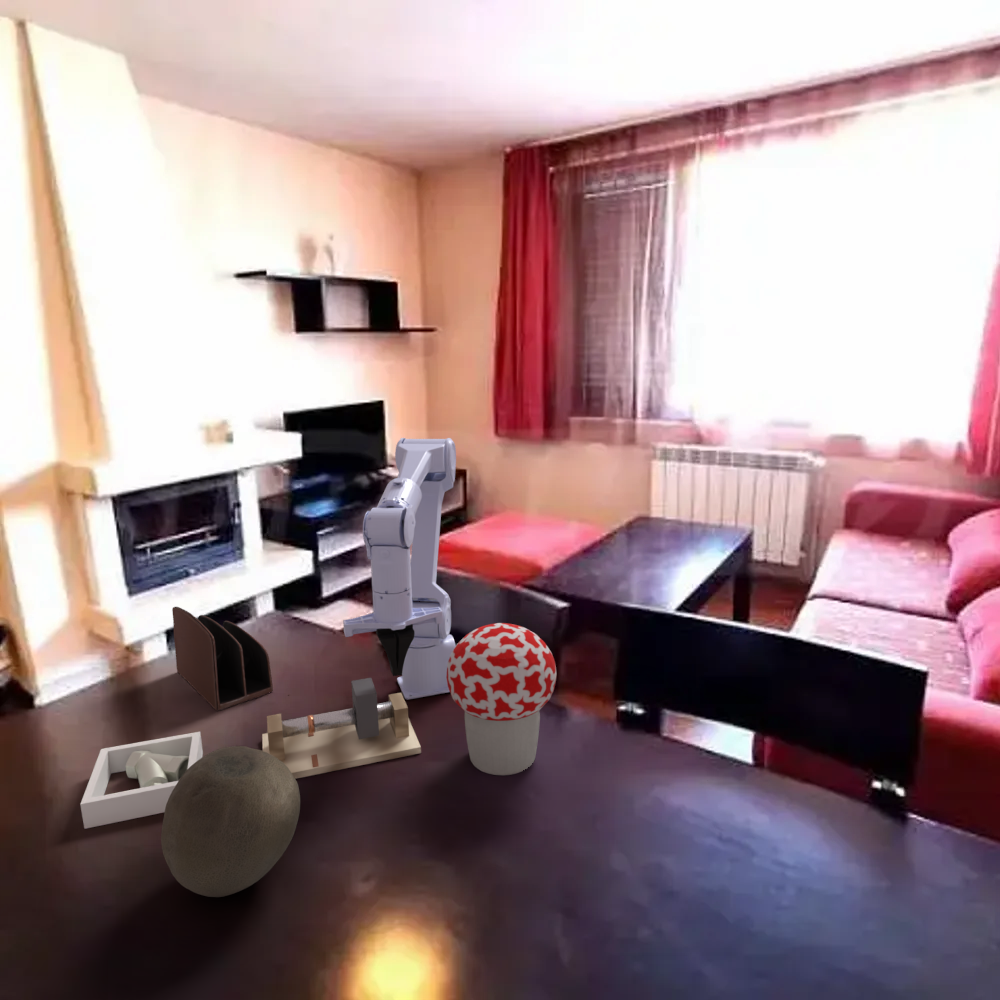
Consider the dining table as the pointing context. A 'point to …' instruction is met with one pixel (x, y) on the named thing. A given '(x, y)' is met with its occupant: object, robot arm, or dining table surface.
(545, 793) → the dining table surface
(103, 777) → the parts frame
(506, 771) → the decorative object
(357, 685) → the collar
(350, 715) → the pipe
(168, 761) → the pipe fitting
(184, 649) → the letter holder
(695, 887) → the dining table surface
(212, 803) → the kiwi fruit
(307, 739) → the pipe stand
